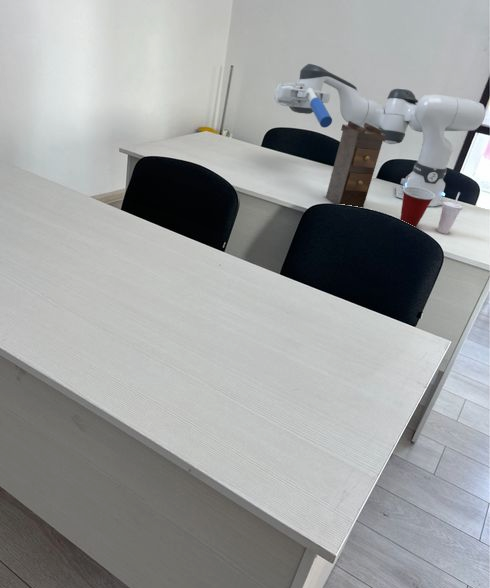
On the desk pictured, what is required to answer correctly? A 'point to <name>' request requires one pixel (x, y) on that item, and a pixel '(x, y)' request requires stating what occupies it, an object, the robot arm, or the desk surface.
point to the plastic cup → (415, 204)
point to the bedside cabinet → (355, 164)
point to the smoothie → (448, 215)
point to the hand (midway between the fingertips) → (312, 95)
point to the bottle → (319, 109)
